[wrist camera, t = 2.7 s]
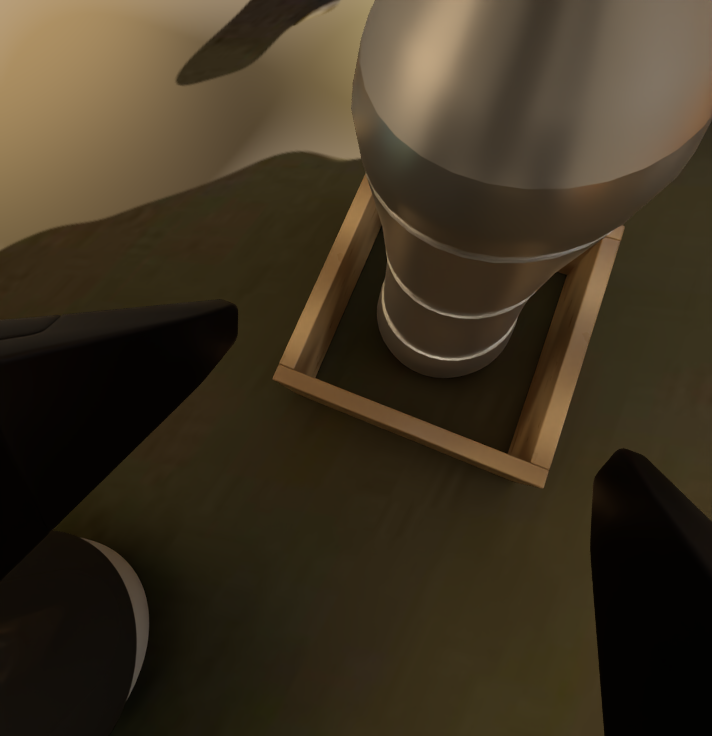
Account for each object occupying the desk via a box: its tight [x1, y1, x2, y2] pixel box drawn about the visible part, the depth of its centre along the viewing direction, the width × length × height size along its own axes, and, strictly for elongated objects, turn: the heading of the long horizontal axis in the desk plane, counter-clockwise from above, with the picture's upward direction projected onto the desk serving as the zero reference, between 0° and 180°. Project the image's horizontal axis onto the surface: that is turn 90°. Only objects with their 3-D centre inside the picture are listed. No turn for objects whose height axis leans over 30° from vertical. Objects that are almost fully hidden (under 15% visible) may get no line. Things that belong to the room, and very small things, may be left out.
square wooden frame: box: [273, 174, 625, 488], centre depth 20 cm, size 13×13×4 cm
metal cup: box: [351, 0, 712, 378], centre depth 12 cm, size 6×7×20 cm
